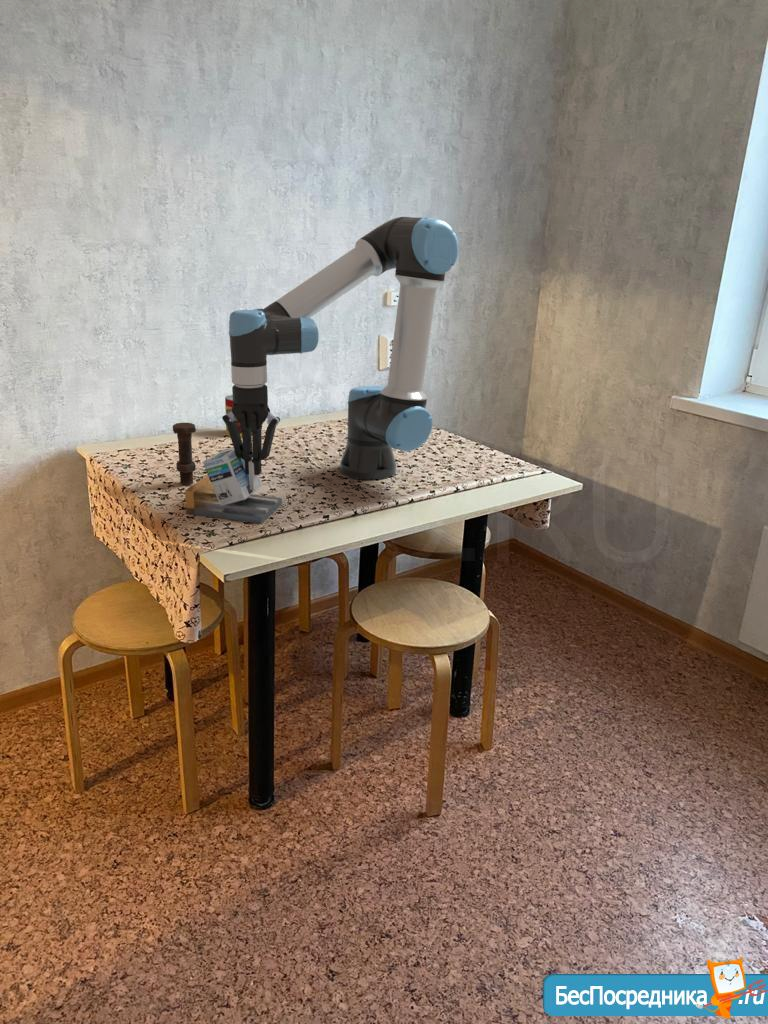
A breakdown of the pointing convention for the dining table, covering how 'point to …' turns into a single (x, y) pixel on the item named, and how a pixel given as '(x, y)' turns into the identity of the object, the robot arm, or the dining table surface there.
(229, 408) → the canned food
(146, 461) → the dining table surface
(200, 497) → the rail plate
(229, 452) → the light bulb box
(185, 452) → the bolt
